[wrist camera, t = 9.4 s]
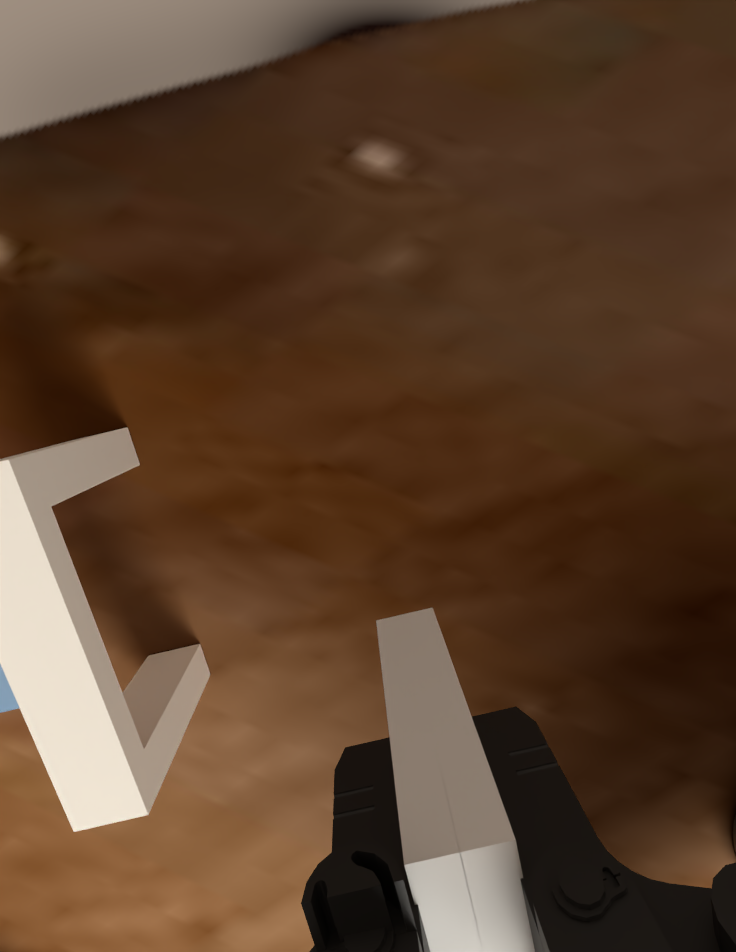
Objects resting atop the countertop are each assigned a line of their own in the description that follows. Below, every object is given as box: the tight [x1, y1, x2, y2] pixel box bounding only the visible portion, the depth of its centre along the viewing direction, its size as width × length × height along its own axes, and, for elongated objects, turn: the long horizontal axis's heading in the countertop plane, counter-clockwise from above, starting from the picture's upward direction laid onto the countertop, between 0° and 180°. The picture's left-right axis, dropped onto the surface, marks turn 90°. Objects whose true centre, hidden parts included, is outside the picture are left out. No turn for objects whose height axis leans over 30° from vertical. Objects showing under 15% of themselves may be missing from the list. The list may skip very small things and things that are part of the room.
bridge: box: [0, 427, 210, 832], centre depth 23 cm, size 3×14×9 cm, turn 13°
